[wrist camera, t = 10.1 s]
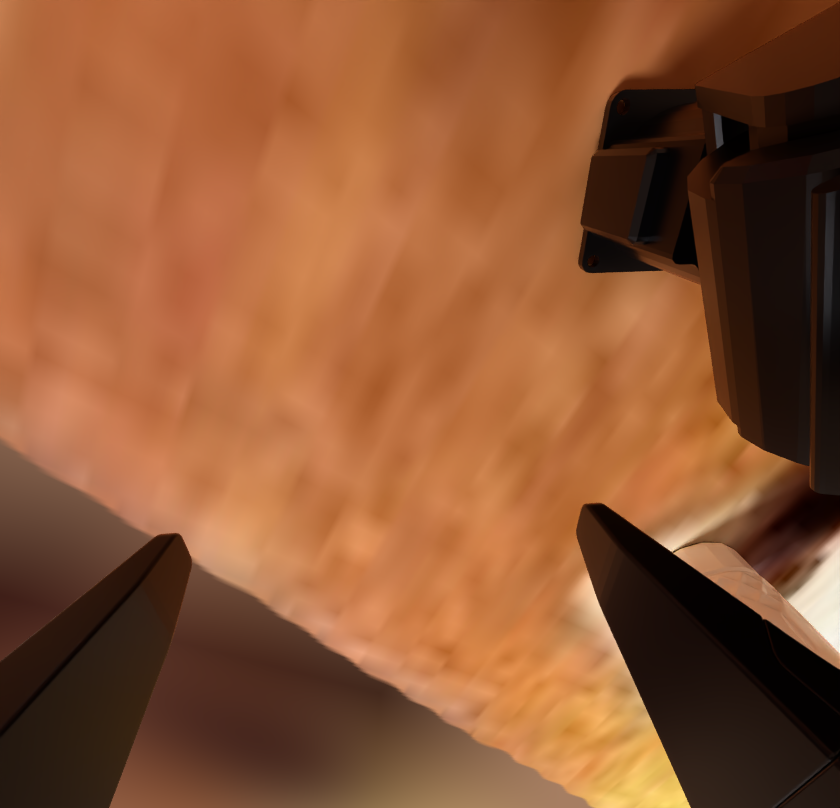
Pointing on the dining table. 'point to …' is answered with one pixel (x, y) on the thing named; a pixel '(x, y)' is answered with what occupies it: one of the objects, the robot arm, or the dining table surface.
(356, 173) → the dining table surface
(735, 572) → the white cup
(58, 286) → the dining table surface
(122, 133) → the dining table surface
